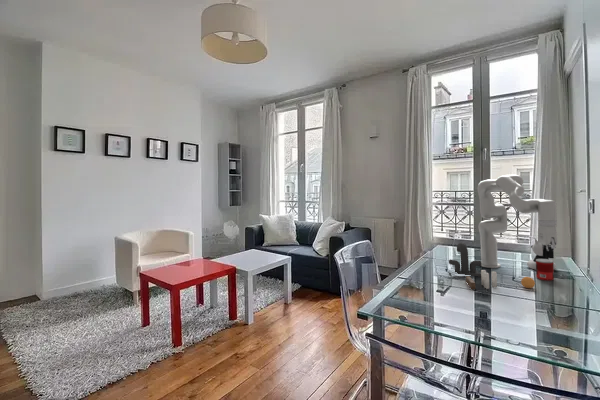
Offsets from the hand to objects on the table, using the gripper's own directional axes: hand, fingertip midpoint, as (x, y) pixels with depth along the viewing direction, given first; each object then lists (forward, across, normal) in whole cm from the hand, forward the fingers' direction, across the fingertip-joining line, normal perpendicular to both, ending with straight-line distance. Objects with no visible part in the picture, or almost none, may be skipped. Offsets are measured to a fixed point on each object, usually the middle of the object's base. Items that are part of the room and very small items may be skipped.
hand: (548, 257), depth 156 cm
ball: (+14, 0, -10) cm, 17 cm away
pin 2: (+17, +2, -30) cm, 35 cm away
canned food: (+17, -17, +6) cm, 25 cm away
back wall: (+17, 0, -38) cm, 41 cm away
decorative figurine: (+17, -38, +12) cm, 44 cm away
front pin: (+17, 0, -26) cm, 31 cm away
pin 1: (+17, -2, -30) cm, 35 cm away
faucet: (+17, -25, -36) cm, 47 cm away
